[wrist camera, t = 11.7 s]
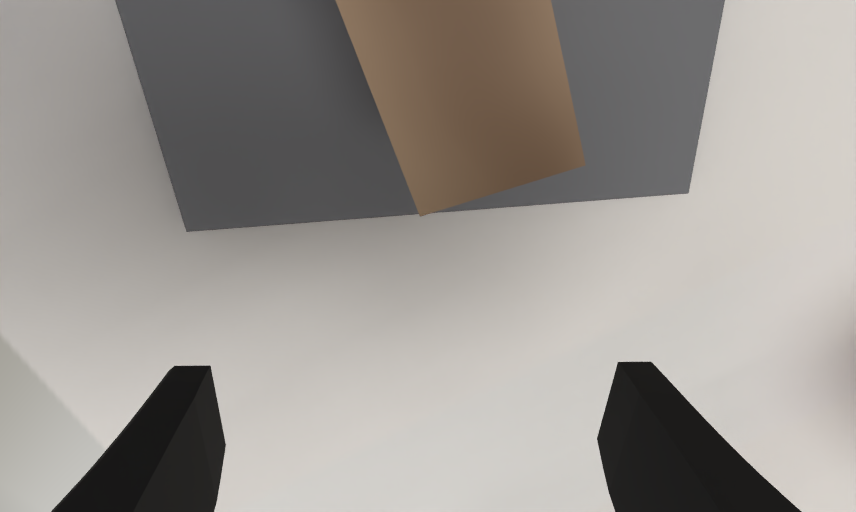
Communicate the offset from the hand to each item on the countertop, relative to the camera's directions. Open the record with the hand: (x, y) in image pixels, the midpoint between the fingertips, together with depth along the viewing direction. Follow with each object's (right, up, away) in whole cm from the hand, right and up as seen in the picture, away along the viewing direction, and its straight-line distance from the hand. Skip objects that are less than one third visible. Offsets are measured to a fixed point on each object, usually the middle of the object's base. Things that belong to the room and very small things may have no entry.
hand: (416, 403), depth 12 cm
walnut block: (0, +10, +5) cm, 12 cm away
